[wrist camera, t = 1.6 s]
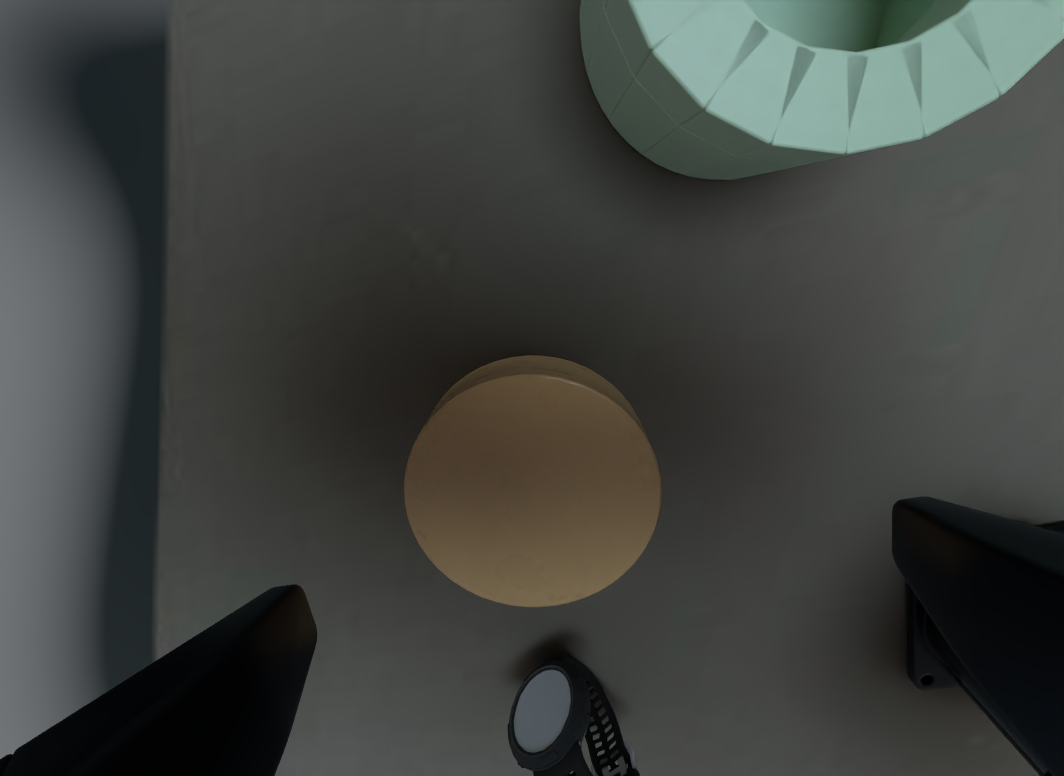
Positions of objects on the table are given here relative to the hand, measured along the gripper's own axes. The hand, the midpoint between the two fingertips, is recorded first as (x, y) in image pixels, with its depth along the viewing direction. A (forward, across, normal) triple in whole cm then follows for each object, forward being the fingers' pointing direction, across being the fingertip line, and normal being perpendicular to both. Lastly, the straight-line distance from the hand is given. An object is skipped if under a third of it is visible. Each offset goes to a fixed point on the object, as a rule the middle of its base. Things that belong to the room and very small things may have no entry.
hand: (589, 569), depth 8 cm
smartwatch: (+12, +2, +13) cm, 18 cm away
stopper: (+12, +1, +1) cm, 12 cm away
